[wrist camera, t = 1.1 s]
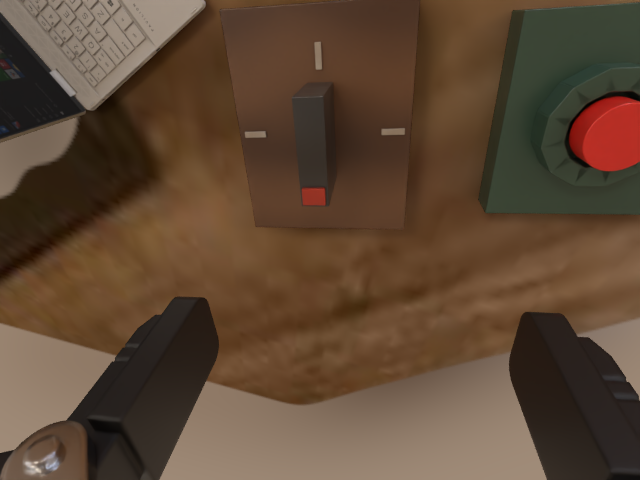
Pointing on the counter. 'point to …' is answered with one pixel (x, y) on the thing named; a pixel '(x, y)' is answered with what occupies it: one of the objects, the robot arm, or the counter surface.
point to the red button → (608, 134)
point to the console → (349, 105)
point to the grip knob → (315, 142)
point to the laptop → (76, 54)
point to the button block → (560, 110)
